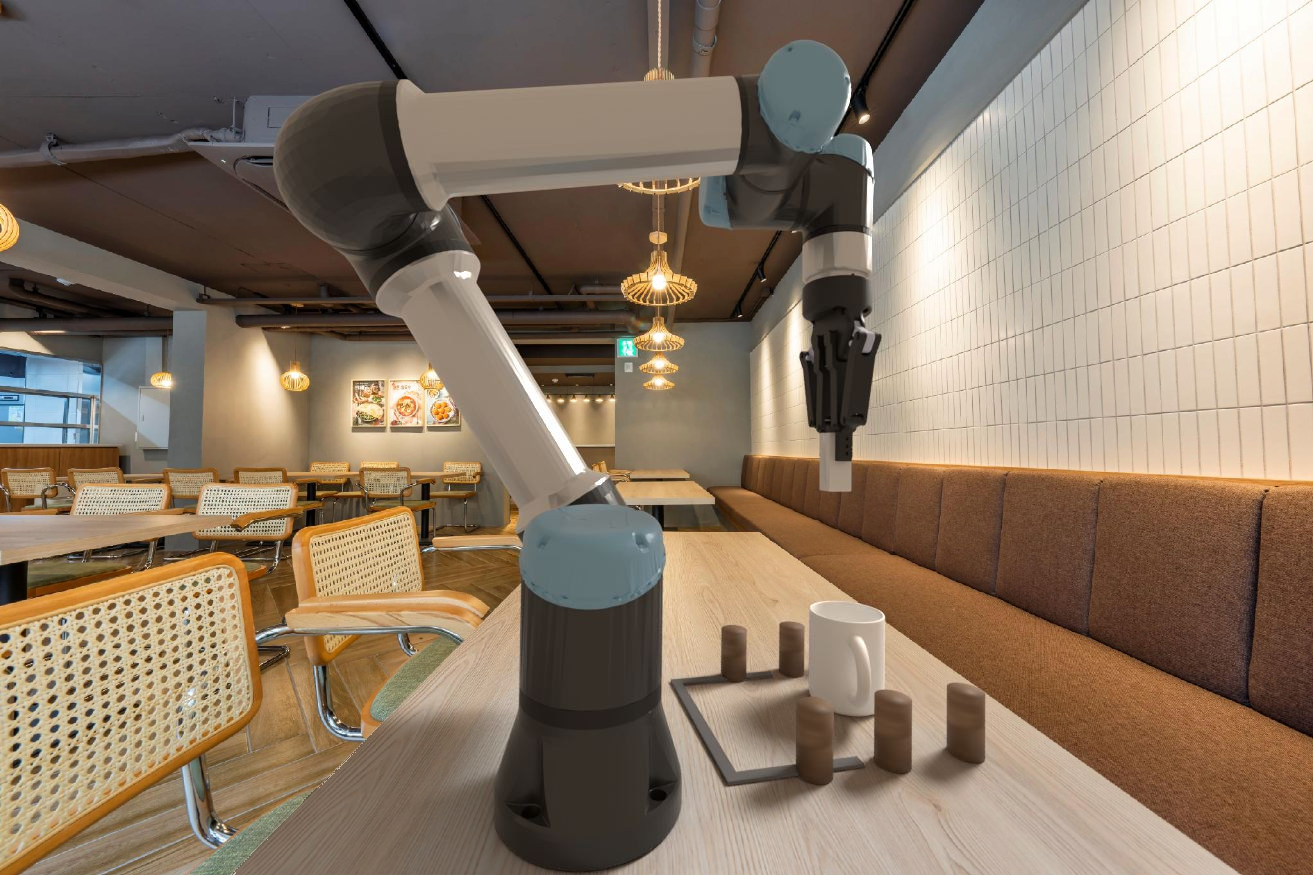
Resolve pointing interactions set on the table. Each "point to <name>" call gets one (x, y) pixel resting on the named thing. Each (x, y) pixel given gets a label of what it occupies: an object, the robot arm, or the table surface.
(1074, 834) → the table surface
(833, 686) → the mug
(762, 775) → the frame
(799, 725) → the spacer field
